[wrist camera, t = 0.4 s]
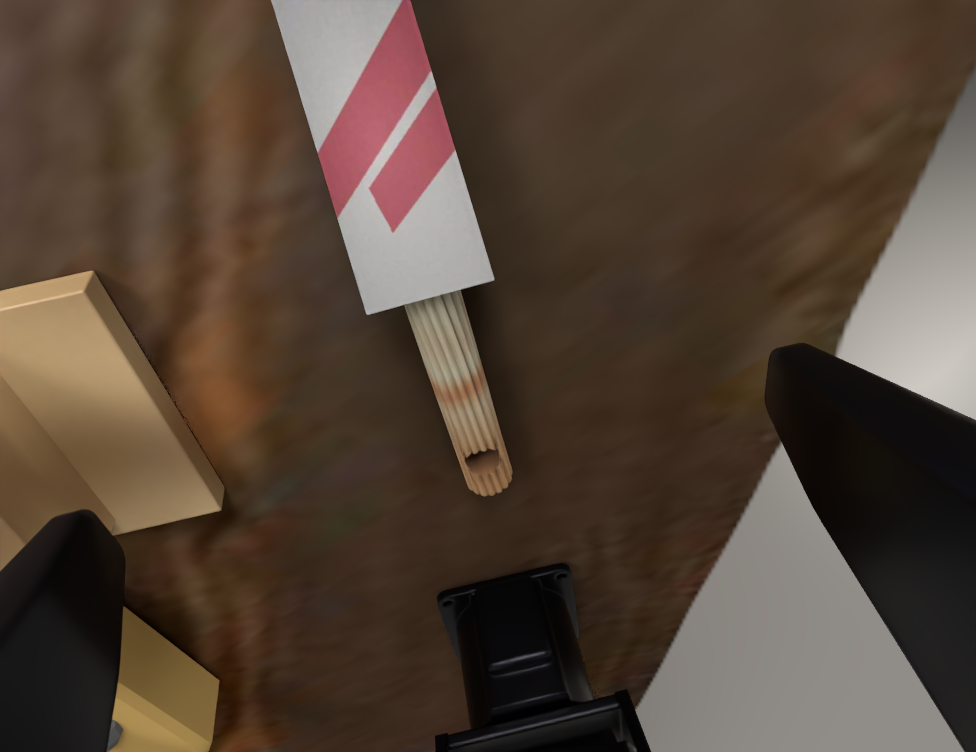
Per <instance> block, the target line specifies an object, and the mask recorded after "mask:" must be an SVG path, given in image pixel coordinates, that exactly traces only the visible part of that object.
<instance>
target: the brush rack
mask: <svg viewBox="0 0 976 752" xmlns="http://www.w3.org/2000/svg"><path fill="white" fill-rule="evenodd" d="M224 489H225V487H224V486H223V484H222V482H221V481H220V479H219V477H218V476H217V474H216V472H215V471H214V469H213V467H212V466H211V464H210V462H209V461H208V459H207V457H206V456H205V454H204V452H203V451H202V449H201V447H200V446H199V444H198V443H197V441H196V439H195V438H194V436H193V434H192V433H191V431H190V429H189V428H188V426H187V424H186V423H185V421H184V419H183V418H182V416H181V414H180V413H179V411H178V409H177V408H176V406H175V405H174V403H173V401H172V400H171V398H170V396H169V395H168V393H167V391H166V390H165V388H164V386H163V385H162V383H161V381H160V380H159V378H158V376H157V375H156V373H155V371H154V370H153V368H152V366H151V365H150V363H149V362H148V360H147V358H146V357H145V355H144V353H143V352H142V350H141V348H140V347H139V345H138V343H137V342H136V340H135V338H134V337H133V335H132V333H131V332H130V330H129V328H128V327H127V325H126V323H125V322H124V320H123V319H122V317H121V315H120V314H119V312H118V310H117V309H116V307H115V305H114V304H113V302H112V300H111V299H110V297H109V295H108V294H107V292H106V290H105V289H104V287H103V285H102V284H101V282H100V281H99V279H98V277H97V276H96V274H95V272H94V271H87V272H83V273H78V274H74V275H69V276H65V277H60V278H56V279H51V280H47V281H42V282H38V283H33V284H29V285H24V286H20V287H15V288H11V289H6V290H2V291H0V571H1V570H2V569H3V568H4V567H5V566H6V564H7V563H8V562H9V561H10V560H11V559H12V558H13V557H14V556H15V555H16V554H17V553H18V552H19V551H20V550H21V549H22V548H23V547H24V546H25V545H26V544H27V543H28V542H29V541H30V540H31V539H32V538H33V537H34V536H35V535H36V534H37V533H38V532H39V531H40V530H41V528H42V527H43V526H44V525H45V524H46V523H47V522H48V521H49V520H50V519H52V518H53V517H55V516H57V515H59V514H63V513H68V512H72V511H76V510H80V509H88V510H91V511H93V512H94V513H95V514H96V515H97V516H98V517H99V519H100V520H101V521H102V523H103V524H104V525H105V526H106V528H107V529H108V530H109V531H110V533H111V534H112V535H113V536H114V535H119V534H123V533H127V532H131V531H136V530H140V529H144V528H149V527H153V526H157V525H161V524H166V523H170V522H174V521H179V520H183V519H187V518H191V517H196V516H200V515H204V514H209V513H213V512H217V511H220V510H221V509H222V502H223V496H224Z"/></svg>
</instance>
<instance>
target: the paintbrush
mask: <svg viewBox="0 0 976 752" xmlns="http://www.w3.org/2000/svg"><path fill="white" fill-rule="evenodd" d="M271 1H272V4H273V7H274V11H275V14H276V17H277V20H278V24H279V27H280V30H281V34H282V37H283V40H284V44H285V47H286V50H287V53H288V57H289V60H290V63H291V67H292V70H293V73H294V77H295V80H296V83H297V86H298V90H299V93H300V96H301V100H302V103H303V106H304V109H305V113H306V116H307V119H308V123H309V126H310V129H311V133H312V136H313V139H314V142H315V146H316V149H317V152H318V156H319V159H320V162H321V166H322V169H323V172H324V175H325V179H326V182H327V185H328V189H329V192H330V195H331V199H332V202H333V205H334V208H335V212H336V215H337V218H338V222H339V225H340V228H341V232H342V235H343V238H344V241H345V245H346V248H347V251H348V255H349V258H350V261H351V265H352V268H353V271H354V274H355V278H356V281H357V284H358V288H359V291H360V294H361V298H362V301H363V304H364V307H365V311H366V314H367V315H369V314H373V313H376V312H380V311H384V310H387V309H391V308H395V307H398V306H402V305H404V306H405V309H406V312H407V315H408V318H409V321H410V324H411V327H412V329H413V332H414V335H415V338H416V341H417V344H418V347H419V350H420V353H421V355H422V358H423V361H424V364H425V367H426V370H427V373H428V375H429V378H430V381H431V384H432V387H433V389H434V392H435V395H436V398H437V401H438V403H439V406H440V409H441V412H442V415H443V418H444V420H445V423H446V426H447V429H448V432H449V434H450V437H451V440H452V443H453V446H454V448H455V451H456V454H457V457H458V460H459V462H460V465H461V468H462V471H463V474H464V477H465V479H466V482H467V485H468V488H469V489H470V490H471V491H473V490H474V492H475V493H476V494H477V495H478V494H481V495H482V496H487V495H488V494H489V495H490V496H494V494H495V493H501V492H502V489H504V488H507V487H508V483H509V482H511V480H512V477H511V475H512V473H513V471H512V468H511V465H510V461H509V458H508V455H507V451H506V448H505V445H504V441H503V438H502V435H501V431H500V428H499V424H498V421H497V417H496V413H495V410H494V406H493V403H492V399H491V395H490V392H489V388H488V385H487V381H486V378H485V374H484V371H483V367H482V364H481V360H480V357H479V353H478V350H477V346H476V343H475V339H474V336H473V332H472V329H471V325H470V322H469V318H468V315H467V311H466V308H465V304H464V301H463V297H462V294H461V289H464V288H468V287H472V286H475V285H479V284H483V283H486V282H490V281H494V280H495V279H494V276H493V273H492V269H491V266H490V263H489V259H488V256H487V253H486V250H485V246H484V243H483V240H482V236H481V233H480V230H479V226H478V223H477V220H476V216H475V213H474V210H473V207H472V203H471V200H470V197H469V193H468V190H467V187H466V183H465V180H464V177H463V173H462V170H461V167H460V164H459V160H458V157H457V154H456V150H455V147H454V144H453V140H452V137H451V134H450V130H449V127H448V124H447V121H446V117H445V114H444V111H443V107H442V104H441V101H440V97H439V94H438V91H437V87H436V84H435V81H434V78H433V74H432V71H431V68H430V64H429V61H428V58H427V54H426V51H425V48H424V45H423V41H422V38H421V35H420V31H419V28H418V25H417V21H416V18H415V15H414V11H413V8H412V5H411V2H410V0H271Z"/></svg>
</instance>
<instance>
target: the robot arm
mask: <svg viewBox="0 0 976 752" xmlns="http://www.w3.org/2000/svg"><path fill="white" fill-rule="evenodd" d="M765 404H766V408H767V411H768V414H769V416H770V418H771V420H772V422H773V424H774V427H775V429H776V431H777V433H778V435H779V437H780V439H781V441H782V444H783V446H784V448H785V450H786V452H787V454H788V456H789V458H790V461H791V463H792V465H793V467H794V469H795V471H796V473H797V475H798V478H799V480H800V482H801V484H802V486H803V488H804V490H805V492H806V494H807V496H808V498H809V500H810V502H811V504H812V506H813V508H814V510H815V512H816V513H817V515H818V516H819V518H820V520H821V522H822V523H823V525H824V527H825V528H826V530H827V532H828V533H829V535H830V536H831V538H832V540H833V541H834V543H835V544H836V546H837V548H838V549H839V551H840V552H841V554H842V555H843V557H844V559H845V560H846V562H847V564H848V565H849V567H850V568H851V570H852V572H853V573H854V575H855V576H856V578H857V580H858V581H859V583H860V584H861V586H862V588H863V589H864V591H865V592H866V594H867V596H868V597H869V599H870V601H871V602H872V604H873V605H874V607H875V609H876V610H877V612H878V613H879V615H880V617H881V618H882V620H883V621H884V623H885V624H886V626H887V628H888V629H889V631H890V633H891V634H892V636H893V637H894V639H895V641H896V642H897V644H898V646H899V647H900V649H901V650H902V652H903V654H904V655H905V657H906V658H907V660H908V661H909V663H910V665H911V666H912V668H913V670H914V671H915V673H916V674H917V676H918V678H919V679H920V681H921V682H922V684H923V686H924V687H925V689H926V690H927V692H928V694H929V695H930V697H931V699H932V700H933V702H934V703H935V705H936V707H937V708H938V710H939V711H940V713H941V715H942V716H943V718H944V719H945V721H946V722H947V724H948V726H949V727H950V729H951V730H952V732H953V734H954V735H955V737H956V739H957V740H958V742H959V743H960V745H961V747H962V748H963V750H964V752H976V420H974V419H972V418H970V417H968V416H965V415H963V414H961V413H959V412H957V411H954V410H952V409H949V408H948V407H946V406H943V405H941V404H939V403H937V402H934V401H932V400H930V399H928V398H925V397H923V396H921V395H919V394H917V393H914V392H912V391H910V390H908V389H906V388H903V387H901V386H899V385H897V384H895V383H893V382H890V381H888V380H886V379H883V378H881V377H879V376H877V375H875V374H873V373H870V372H868V371H866V370H864V369H862V368H859V367H857V366H855V365H853V364H850V363H848V362H846V361H844V360H842V359H840V358H837V357H835V356H833V355H831V354H829V353H826V352H824V351H822V350H820V349H817V348H815V347H813V346H811V345H808V344H805V343H797V344H793V345H788V346H784V347H780V348H776V349H775V350H773V351H772V352H771V354H770V357H769V363H768V371H767V379H766V388H765ZM124 584H125V556H124V552H123V550H122V547H121V546H120V544H119V543H118V541H117V540H116V539H115V538H114V536H113V535H112V534H111V533H110V531H109V530H108V529H107V528H106V526H105V525H104V524H103V523H102V521H101V520H100V519H99V517H98V516H97V515H96V514H95V513H94V512H93V511H91V510H88V509H80V510H76V511H72V512H68V513H63V514H59V515H57V516H55V517H53V518H52V519H50V520H49V521H48V522H47V523H46V524H45V525H44V526H43V527H42V528H41V530H40V531H39V532H38V533H37V534H36V535H35V536H34V537H33V538H32V539H31V540H30V541H29V542H28V543H27V544H26V545H25V546H24V547H23V548H22V549H21V550H20V551H19V552H18V553H17V554H16V555H15V556H14V557H13V558H12V559H11V560H10V561H9V562H8V563H7V564H6V566H5V567H4V568H3V569H2V570H1V571H0V752H107V747H108V741H109V735H110V729H111V723H112V717H113V711H114V705H115V699H116V693H117V686H118V679H119V671H120V659H121V643H122V623H123V604H124ZM437 601H438V607H439V610H440V612H441V615H442V618H443V621H444V623H445V626H446V629H447V632H448V634H449V637H450V640H451V642H452V645H453V648H454V651H455V653H456V656H457V659H458V661H459V663H460V664H461V666H462V673H463V680H464V686H465V693H466V700H467V707H468V713H469V720H470V727H471V729H470V730H466V731H462V732H458V733H454V734H450V735H448V733H445V734H441V735H436V736H435V743H436V751H435V752H651V750H650V748H649V745H648V743H647V740H646V737H645V735H644V732H643V730H642V727H641V724H640V722H639V719H638V717H637V714H636V711H635V709H634V706H633V704H632V701H631V698H630V696H629V693H628V691H627V689H625V690H621V691H617V692H615V694H614V695H610V696H606V697H602V698H598V699H594V697H593V693H592V690H591V686H590V683H589V679H588V676H587V672H586V669H585V665H584V662H583V658H582V655H581V651H580V648H579V644H578V641H577V638H578V636H579V627H578V619H577V612H576V605H575V598H574V590H573V583H572V576H571V572H570V568H569V566H568V565H567V564H563V563H561V564H556V565H551V566H547V567H543V568H539V569H535V570H530V571H526V572H522V573H518V574H514V575H509V576H505V577H501V578H497V579H493V580H488V581H484V582H480V583H476V584H472V585H467V586H463V587H459V588H455V589H451V590H446V591H443V592H441V593H440V594H439V595H438V596H437Z"/></svg>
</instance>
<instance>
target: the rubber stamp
mask: <svg viewBox="0 0 976 752" xmlns="http://www.w3.org/2000/svg"><path fill="white" fill-rule="evenodd" d="M218 689H219V680H218V679H217V678H216V677H214V676H213V675H212V674H210V673H209V672H208V671H207V670H205V669H204V668H203V667H201V666H200V665H199V664H198V663H196V662H195V661H194V660H192V659H191V658H190V657H189V656H187V655H186V654H185V653H183V652H182V651H181V650H180V649H178V648H177V647H176V646H174V645H173V644H172V643H171V642H169V641H168V640H167V639H165V638H164V637H163V636H162V635H160V634H159V633H158V632H156V631H155V630H154V629H153V628H151V627H150V626H149V625H147V624H146V623H145V622H144V621H142V620H141V619H140V618H138V617H137V616H136V615H135V614H133V613H132V612H131V611H129V610H128V609H127V608H126V607H124V606H123V623H122V643H121V659H120V671H119V679H118V686H117V693H116V699H115V705H114V711H113V717H112V723H111V729H110V735H109V741H108V747H107V752H207V751H209V749H210V746H211V743H212V737H213V729H214V721H215V713H216V705H217V697H218Z"/></svg>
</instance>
